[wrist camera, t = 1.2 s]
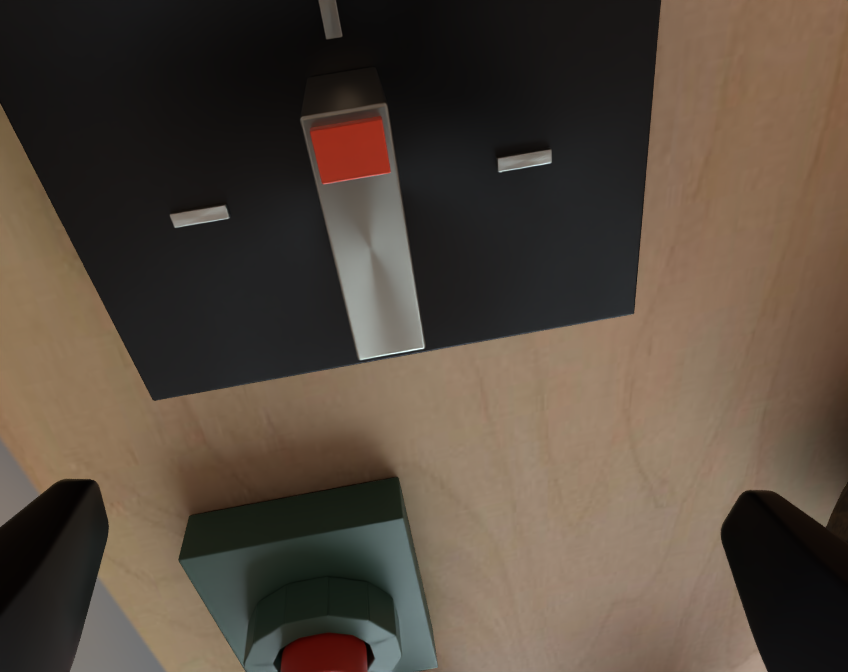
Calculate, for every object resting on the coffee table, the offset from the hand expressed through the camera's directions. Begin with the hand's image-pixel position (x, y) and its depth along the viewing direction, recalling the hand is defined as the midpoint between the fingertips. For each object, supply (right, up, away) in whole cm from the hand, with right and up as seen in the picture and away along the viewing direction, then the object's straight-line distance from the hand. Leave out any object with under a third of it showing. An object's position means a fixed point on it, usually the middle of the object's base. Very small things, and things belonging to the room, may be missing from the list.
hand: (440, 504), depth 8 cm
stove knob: (-2, +6, +7) cm, 9 cm away
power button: (-4, -11, +17) cm, 21 cm away
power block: (-5, -9, +20) cm, 23 cm away
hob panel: (-2, +8, +9) cm, 12 cm away
